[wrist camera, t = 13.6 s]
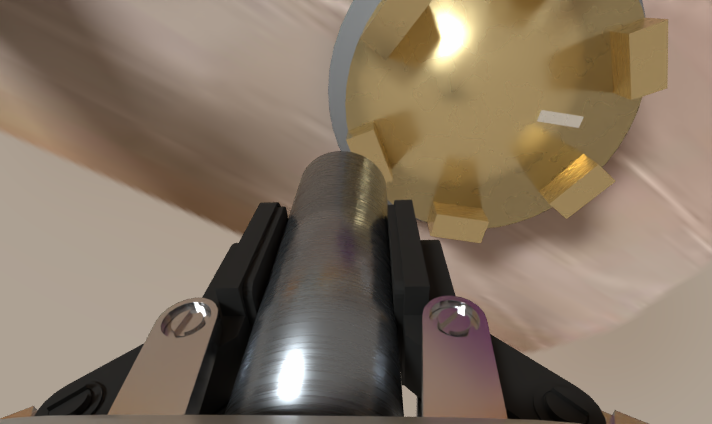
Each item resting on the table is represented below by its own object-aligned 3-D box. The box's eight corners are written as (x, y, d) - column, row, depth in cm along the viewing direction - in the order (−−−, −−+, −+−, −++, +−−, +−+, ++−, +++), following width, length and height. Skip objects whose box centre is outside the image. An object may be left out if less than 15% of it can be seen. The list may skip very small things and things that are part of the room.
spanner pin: (392, 155, 13) (435, 509, 4) (381, 229, 14) (395, 581, 6) (300, 147, 13) (167, 490, 4) (300, 222, 14) (205, 569, 6)
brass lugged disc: (683, 76, 26) (737, 90, 22) (473, 251, 34) (485, 283, 31) (492, -157, 21) (520, -194, 17) (296, 119, 29) (284, 137, 25)
